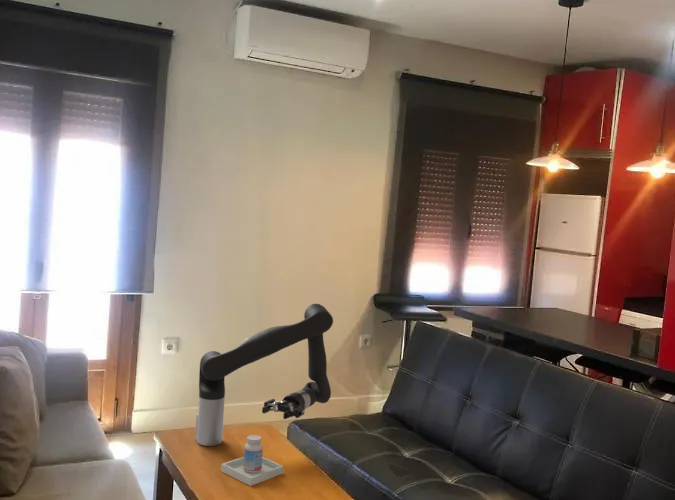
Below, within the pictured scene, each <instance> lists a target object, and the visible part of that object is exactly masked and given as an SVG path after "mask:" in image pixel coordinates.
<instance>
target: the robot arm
mask: <svg viewBox="0 0 675 500" xmlns="http://www.w3.org/2000/svg"><path fill="white" fill-rule="evenodd" d="M303 318H304V319H303V320H301V321H299V322H296V323H293V324H287V325H278V326H271V327H269V328H267V329H264V330H262V331H259V332H257V333H255V334H254V335H251V336H250V337H248V338H247V339H246V340H245V341H244V342H243V343H241V344H240V345H238V346H237V347H235V348H233V349H231V350H229V351H226V352H224V353H220V352H219V351H216V350H210V351H208V352H206V353H204V355H202V357H201V359H200V361H199V373H198V374H199V375H198V376H199V377H198V379H199V380H198V388H199V389H198V393H199V394H198V411H197V414H196V416H195V417H196V419H195V435H194V436H195V441H196V443H197V444H199V445H201V446H204V447H206V446H207V447H213V446H214V447H215V446H219V445H221V444H222V443H223V436H224V435H223V434H224V432H223V431H224V418H225V417H224V415H225V414H224V412H225V395H226V389H225V388H226V387H225V386H226V385H225V384H226V383H225V377H227V376H229V375H230V374H232V373H233V372H235V371H238V369H241V368H242V367H245V366H247V365H250V364H253V363H254V362H256V361H257V362H258V361H259V360H261V359H264V358H266V357H269V356H271V355H273V354H276V353H277V352H280V351H282V350H283V349H286V348H288V347H291V346H293V345H295V344H297V343H299V342H301V341H304V340H307V347H308V348H307V349H308V350H307V351H308V353H307V354H308V360H307V361H308V367H307V369H308V370H307V371H308V378H309V379H310V380H311V381H308V382H307V383H306V384H305V385H304V387H303V388H302V389H300V390H297V391H293V392H291V393H290V394H287V395H286V396H284V397H283V399H282V400H279V401H276V399H274V398H272V399H269V400H266V401H264V402H263V406H262V410H261V412H262V414H267V413H269V412H274V413H280V412H281V413H283V419H284V420H287V419H289V418H296V419H298V418H300V417H302V416H304V415H305V412H306V411H305V410H307V409H308V408H310V407H311V406H313V405H314V404H315V403H316V402H317V403H318V404H319V403H320V404H326V403H328V402H329V400H330V399H331V395H332V389H331V386H330V382H329V381H330V380H329V378H328V375H327V361H328V360H327V354H326V347H325V342H324V341H325V340H324V333H326V332H328V331H329V330H330V329H331V328H332V326H333V324H334V319H333V315H332V314H331V312H329V311H328V310H327V308H326V307H325V306H323V305H322V304H320V303H312V304H310V305H309V306H308V307H306V309H305V311H304V315H303Z"/></svg>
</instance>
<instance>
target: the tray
mask: <svg viewBox="0 0 675 500" xmlns="http://www.w3.org/2000/svg"><path fill="white" fill-rule="evenodd" d="M220 466H221V467H220V472H222V473H224V474H226V475H227V476H230V477H232V478H233V479H236V480H238V481H240V482H242V483H244V484H246V485H248V486H250V487H251V486H254V485H257V484H259V483H262V482H264V481H268V480H270V479H272V478H276V477H277V476H280V475H283V474H284V467H285V466H283V465H282V464H280V463H277V462H275V461H272V460H271V459H269V458H266V457H263V456H262V469H261V471H260V472H257V473H249V472H246V471H244V469H243V466H244V456H241V457H238V458H235V459H233V460H229V461H227V462H223V463H221V465H220Z"/></svg>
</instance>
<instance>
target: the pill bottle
mask: <svg viewBox="0 0 675 500" xmlns="http://www.w3.org/2000/svg"><path fill="white" fill-rule="evenodd" d="M246 441H247V442H246V443H245V445H244V451H243V457H244V466H243V469H244V471H246V472H249V473H257V472H260V471H261V469H262V457H263V450H264V446H263V444H262V437H261V436H260V435H258V434H257V435H256V434H250V435H248V436H247V437H246Z"/></svg>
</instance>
